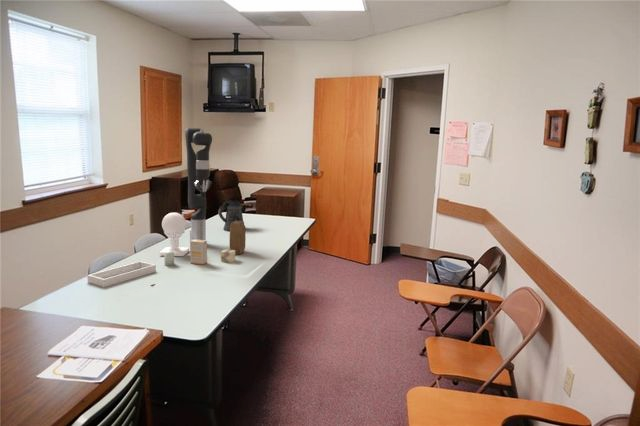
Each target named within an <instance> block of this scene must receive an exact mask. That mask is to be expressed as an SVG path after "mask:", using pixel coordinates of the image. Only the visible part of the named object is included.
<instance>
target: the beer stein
mask: <svg viewBox="0 0 640 426" xmlns="http://www.w3.org/2000/svg"><path fill="white" fill-rule="evenodd" d="M242 208H243V204H242V203H240V202H239V201H238V200H237V199H236V198H234V199H233V198H231V199H229V200H228V201H225V202H223V203H222V205H220V206H219V208H218V211H217V212H218V213H217V214H218V216H219V218H220V219H221V220H222V222H223V223H224V226H223V231H224V232H229V233H230V224H231V223H232V222H233V221H244V217H243V211H242ZM223 210H226V211H225V212H226V213H225V217H224V215H223V213H222V212H223ZM244 227H245V228H246V225H245V224H244Z"/></svg>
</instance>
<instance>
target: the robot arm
mask: <svg viewBox="0 0 640 426" xmlns="http://www.w3.org/2000/svg"><path fill="white" fill-rule="evenodd" d="M184 133H185V134H184V135H185V146H186V166H187V167H186V170H187V204H188V209H191V210H196V209H197V211H195V212H194V213H191V214H190V229H189V242H190V241H191V240H194V239H197V240H206V238H207V237H206V236H207V235H206V230H207V228H206V215H207V197H206V195H207V191H209V189H210V187H211V186H212V184H213V182H212V180H211V181H210V178H209V177H211V176H210V175H211V174H210V172H211V171H210V170H211V169H210V166H211V165H210V150H211V145H212V143H213V142H212V141H213V136H212V134H211V133H209V132H204V130H203V129H202V128H198V127H197V128H196V127H186V129H185V132H184ZM192 144H194V145H195V146H204V148H202V149H197V150H196V152H195V150H194V149H193V146H192ZM196 190H197V192H198V191H199V193H200V194H199V193H198V194H195V191H196ZM206 241H207V240H206Z"/></svg>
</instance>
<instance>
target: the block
mask: <svg viewBox="0 0 640 426" xmlns="http://www.w3.org/2000/svg"><path fill="white" fill-rule="evenodd" d="M244 225H245V221H244V220H243V221H233V222H232V223H231V224H230V232H229V250H235V255H242V254H244V253H245V252H244V251H245V249H246V239H247V237H246V226H245V227H244Z"/></svg>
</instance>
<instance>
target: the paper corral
mask: <svg viewBox="0 0 640 426" xmlns="http://www.w3.org/2000/svg"><path fill="white" fill-rule="evenodd" d="M156 268H157V265H156V264H155V263H150V262H145V261H141V260H138V261H135V262H133V263H128V264H125V265H121V266H116V267H113V268H108V269H106V270H102V271H98V272H93V273H91V274H88V275H86V276H87V277H86V278H87V283H89V284H91V285H95V286H98V287H102V288H105V287H109V286H112V285H116V284H119V283H123V282H126V281H129V280H132V279H135V278H139V277H142V276H145V275H149V274H151V273H156V271H157V269H156Z"/></svg>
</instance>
